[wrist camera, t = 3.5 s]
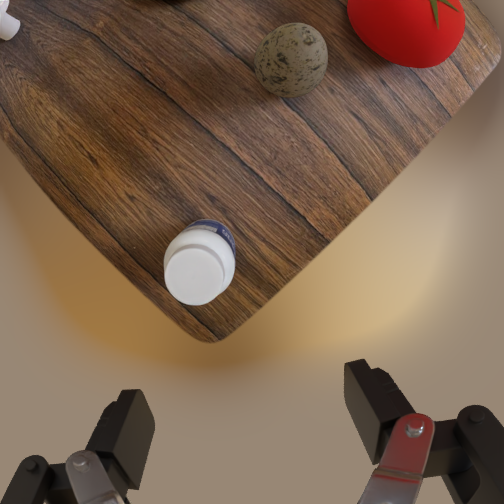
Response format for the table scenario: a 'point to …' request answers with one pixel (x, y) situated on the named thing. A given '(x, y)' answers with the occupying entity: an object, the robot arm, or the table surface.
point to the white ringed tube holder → (7, 22)
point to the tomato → (409, 29)
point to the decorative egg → (291, 60)
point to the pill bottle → (200, 262)
